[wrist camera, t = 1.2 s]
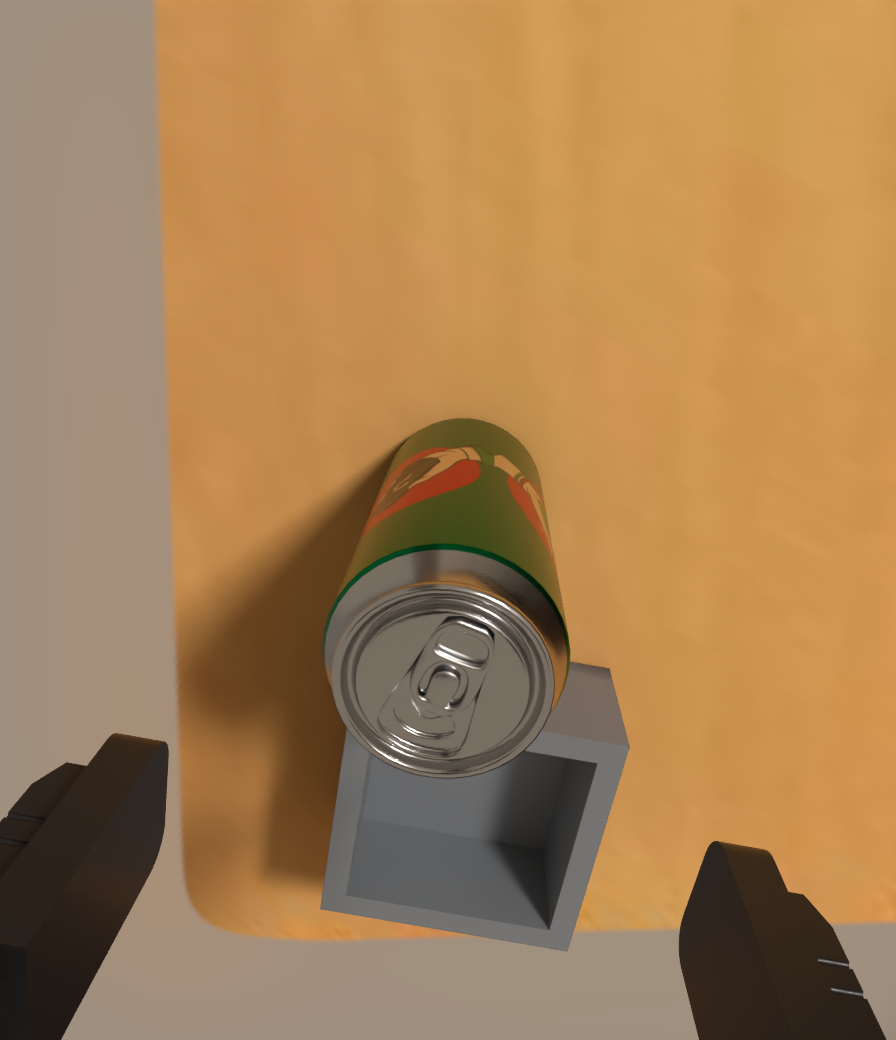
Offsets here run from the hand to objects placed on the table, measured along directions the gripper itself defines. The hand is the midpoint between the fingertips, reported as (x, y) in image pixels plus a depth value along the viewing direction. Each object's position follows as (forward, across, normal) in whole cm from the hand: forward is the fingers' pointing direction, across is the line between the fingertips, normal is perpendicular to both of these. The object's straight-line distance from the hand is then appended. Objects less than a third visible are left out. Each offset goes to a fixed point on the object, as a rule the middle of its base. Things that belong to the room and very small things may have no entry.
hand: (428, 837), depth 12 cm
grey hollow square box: (+16, -2, +10) cm, 19 cm away
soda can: (+16, 0, 0) cm, 16 cm away
